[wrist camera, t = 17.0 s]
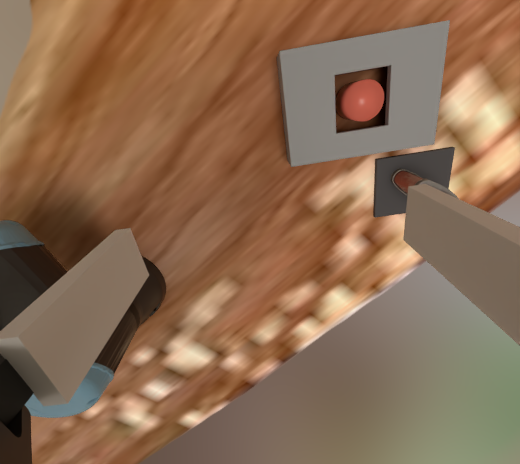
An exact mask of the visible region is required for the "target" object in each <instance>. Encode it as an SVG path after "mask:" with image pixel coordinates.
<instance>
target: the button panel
mask: <svg viewBox="0 0 520 464" xmlns="http://www.w3.org/2000/svg"><path fill="white" fill-rule="evenodd" d="M449 23H450V20H448V21H443V22H437V23H432V24H426V25H421V26H415V27H410V28H404V29H399V30H393V31H388V32H382V33H377V34H371V35H366V36H360V37H355V38H349V39H344V40H338V41H333V42H327V43H322V44H316V45H311V46H305V47H300V48H294V49H289V50H283V51H279V54H278V56H277V66H278V75H279V85H280V94H281V103H282V113H283V122H284V131H285V141H286V150H287V159H288V162H289V164H290V165H291V167H293V166H300V165H306V164H312V163H319V162H325V161H331V160H338V159H344V158H351V157H357V156H363V155H370V154H376V153H382V152H389V151H395V150H401V149H408V148H414V147H420V146H427V145H433V144H434V142H435V134H436V126H437V118H438V110H439V102H440V94H441V87H442V79H443V71H444V63H445V55H446V47H447V39H448V31H449ZM386 66H388V71H387V93H386V114H385V125H381V126H375V127H369V128H362V129H356V130H350V131H344V132H338V133H336V110H335V75H340V74H346V73H351V72H357V71H363V70H368V69H374V68H380V67H386Z"/></svg>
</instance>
